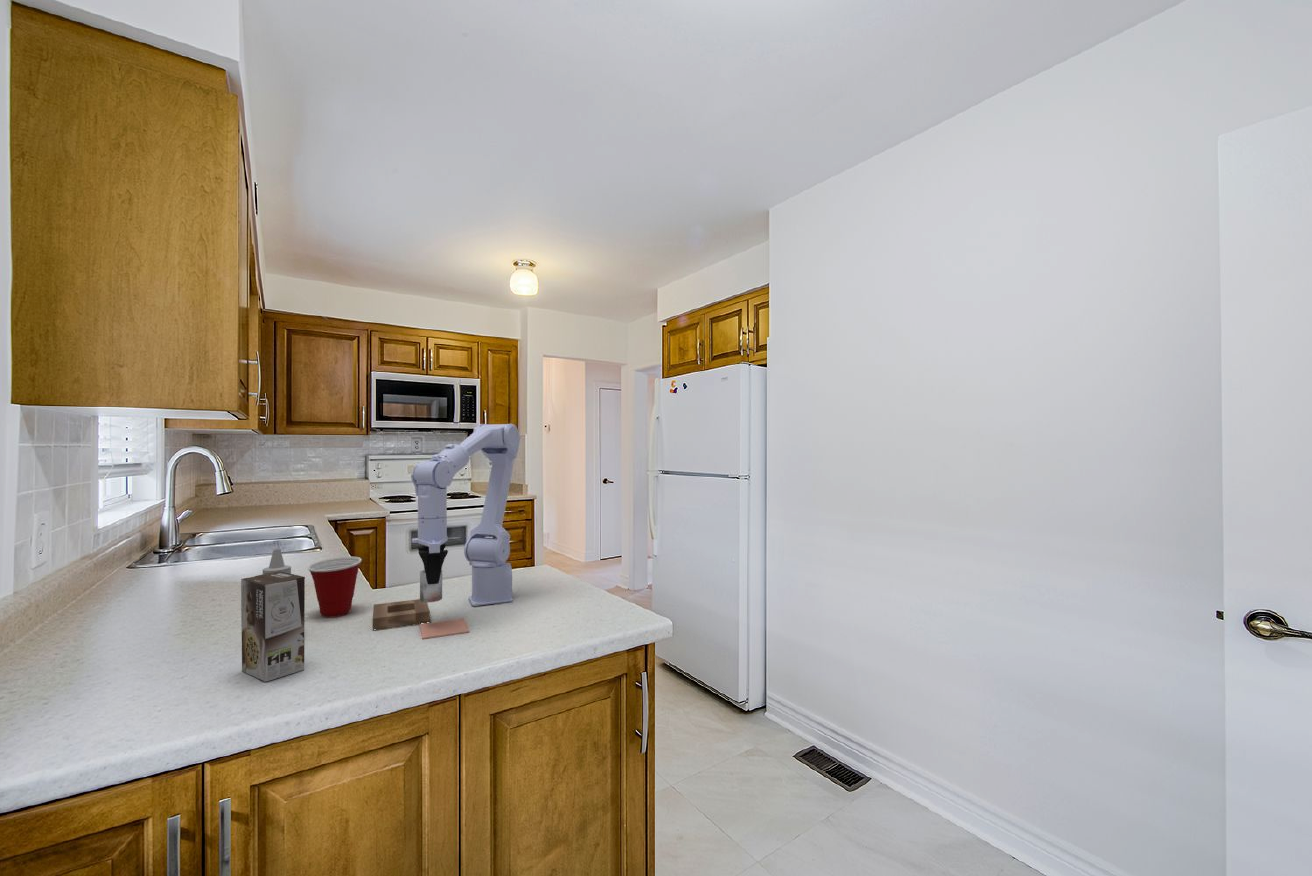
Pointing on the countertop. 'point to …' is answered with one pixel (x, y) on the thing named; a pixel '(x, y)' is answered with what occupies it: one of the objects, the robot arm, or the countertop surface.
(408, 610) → the socket block
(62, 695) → the countertop surface
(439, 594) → the metal plug
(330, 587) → the plastic cup
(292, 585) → the coffee box
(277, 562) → the squeeze bottle
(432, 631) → the rubber mat
